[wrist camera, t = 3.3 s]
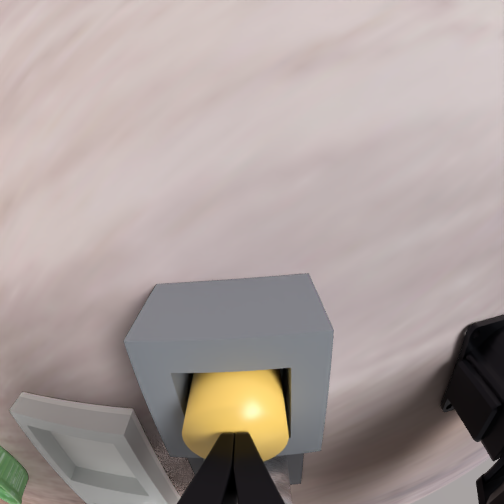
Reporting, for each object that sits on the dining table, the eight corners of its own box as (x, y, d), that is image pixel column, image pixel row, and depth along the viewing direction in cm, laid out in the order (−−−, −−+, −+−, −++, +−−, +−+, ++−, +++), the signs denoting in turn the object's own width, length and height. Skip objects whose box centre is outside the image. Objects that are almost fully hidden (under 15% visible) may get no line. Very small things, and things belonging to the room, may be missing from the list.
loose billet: (286, 434, 15) (298, 528, 9) (286, 475, 17) (294, 551, 11) (196, 438, 15) (184, 530, 9) (211, 478, 17) (205, 553, 11)
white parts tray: (133, 408, 15) (123, 435, 13) (200, 526, 21) (198, 542, 19) (22, 391, 15) (9, 410, 13) (120, 515, 21) (116, 530, 19)
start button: (276, 324, 11) (288, 402, 8) (279, 386, 12) (288, 462, 9) (190, 329, 11) (170, 406, 8) (204, 390, 12) (193, 465, 9)
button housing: (308, 273, 12) (333, 330, 8) (306, 386, 14) (320, 450, 10) (156, 284, 12) (123, 340, 8) (183, 393, 14) (170, 456, 10)
